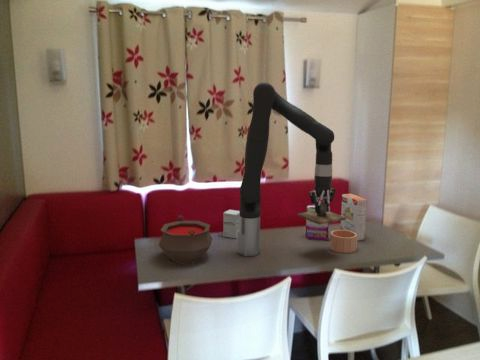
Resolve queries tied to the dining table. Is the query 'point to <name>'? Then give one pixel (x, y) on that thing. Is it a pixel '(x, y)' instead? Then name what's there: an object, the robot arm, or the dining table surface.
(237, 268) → the dining table surface
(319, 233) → the candy bar box
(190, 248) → the brown cooking pot
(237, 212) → the supplement box
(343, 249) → the terracotta bowl
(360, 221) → the cracker box
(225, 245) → the dining table surface
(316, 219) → the walnut lid
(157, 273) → the dining table surface
